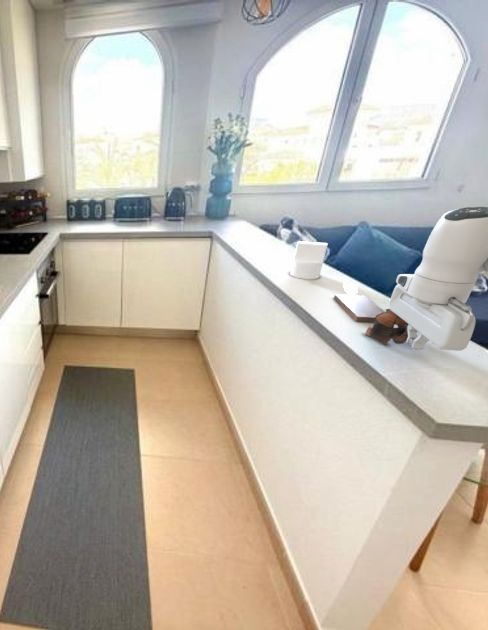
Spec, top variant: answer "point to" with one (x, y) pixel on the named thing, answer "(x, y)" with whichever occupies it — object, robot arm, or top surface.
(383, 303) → the top surface
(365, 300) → the cutting board
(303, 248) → the cylinder with rectangular tab
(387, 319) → the pottery mug
